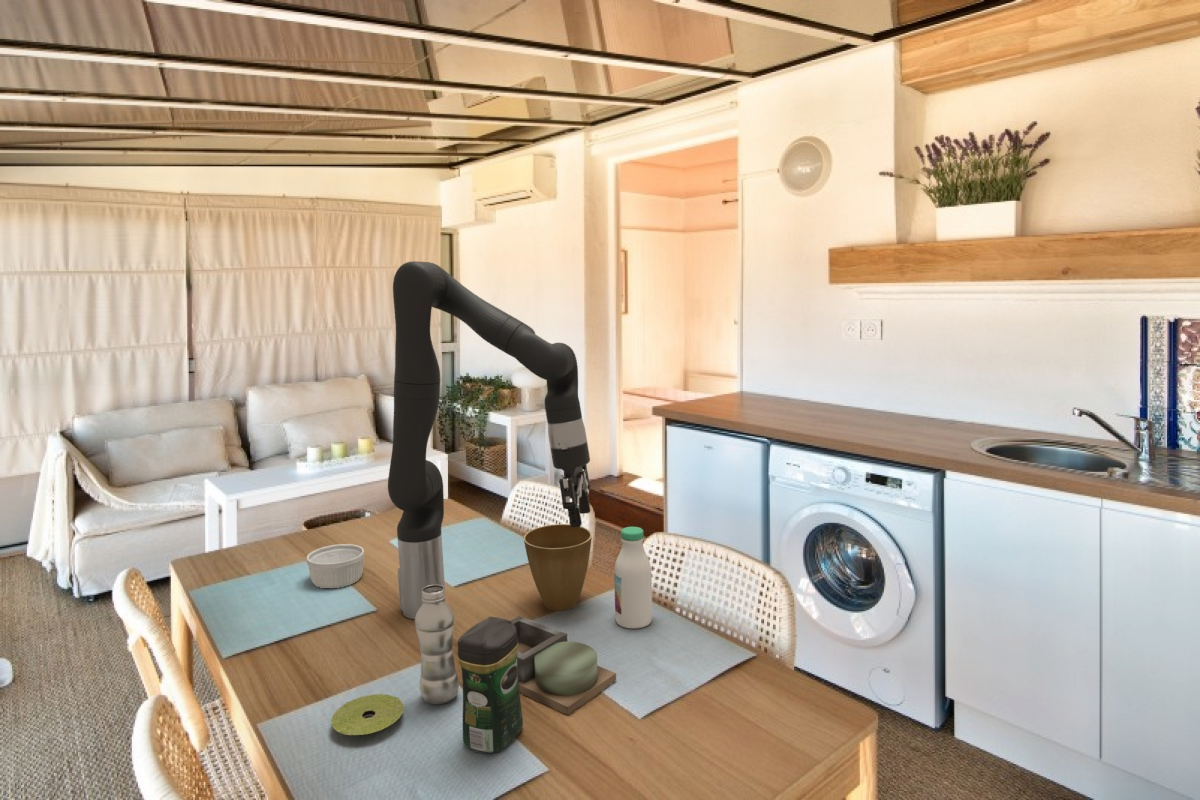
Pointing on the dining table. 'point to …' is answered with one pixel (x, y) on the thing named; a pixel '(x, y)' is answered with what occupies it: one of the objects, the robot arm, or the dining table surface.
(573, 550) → the plant pot
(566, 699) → the stand
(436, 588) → the plastic bottle
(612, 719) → the dining table surface
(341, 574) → the ramekin
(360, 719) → the green sanding disc
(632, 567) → the milk bottle
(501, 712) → the coffee jar
